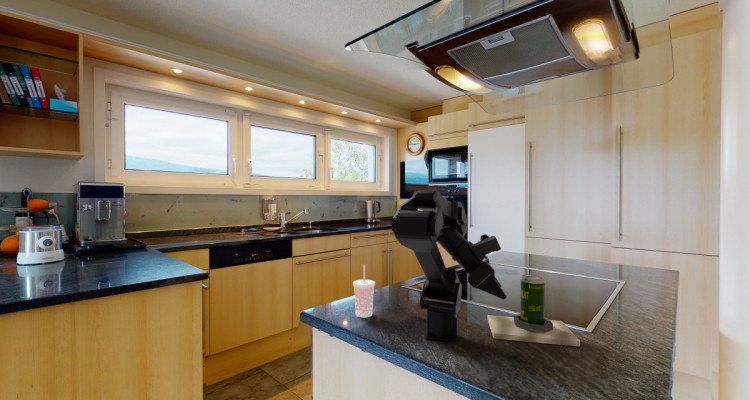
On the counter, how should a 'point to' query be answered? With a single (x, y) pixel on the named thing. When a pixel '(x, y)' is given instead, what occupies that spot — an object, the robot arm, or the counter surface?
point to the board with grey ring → (531, 331)
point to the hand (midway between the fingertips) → (502, 292)
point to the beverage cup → (364, 296)
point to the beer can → (532, 299)
